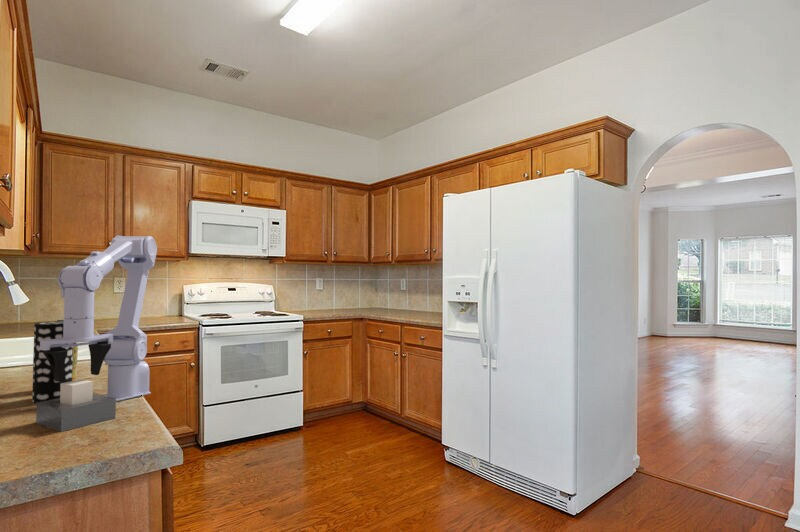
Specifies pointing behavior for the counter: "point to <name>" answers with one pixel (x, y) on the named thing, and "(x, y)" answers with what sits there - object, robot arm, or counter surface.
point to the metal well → (75, 413)
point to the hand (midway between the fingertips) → (77, 377)
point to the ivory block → (76, 392)
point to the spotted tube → (42, 370)
